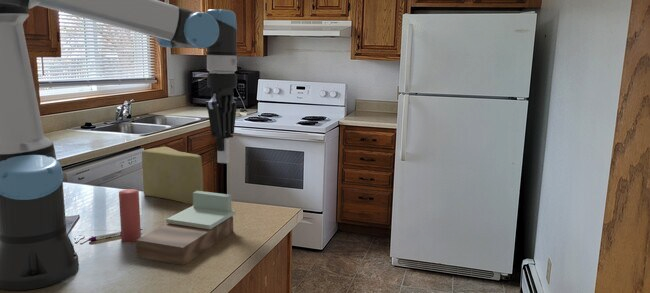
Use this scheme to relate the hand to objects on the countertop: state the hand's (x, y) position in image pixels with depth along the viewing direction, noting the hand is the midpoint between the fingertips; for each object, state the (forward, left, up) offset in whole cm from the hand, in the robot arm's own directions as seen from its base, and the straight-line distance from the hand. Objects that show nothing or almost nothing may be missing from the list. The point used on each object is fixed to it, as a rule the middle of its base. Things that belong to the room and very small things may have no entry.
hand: (223, 162), depth 131 cm
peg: (-20, +14, -16) cm, 29 cm away
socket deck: (-17, 0, -16) cm, 24 cm away
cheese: (+13, +24, -17) cm, 32 cm away
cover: (-11, 0, -12) cm, 16 cm away
